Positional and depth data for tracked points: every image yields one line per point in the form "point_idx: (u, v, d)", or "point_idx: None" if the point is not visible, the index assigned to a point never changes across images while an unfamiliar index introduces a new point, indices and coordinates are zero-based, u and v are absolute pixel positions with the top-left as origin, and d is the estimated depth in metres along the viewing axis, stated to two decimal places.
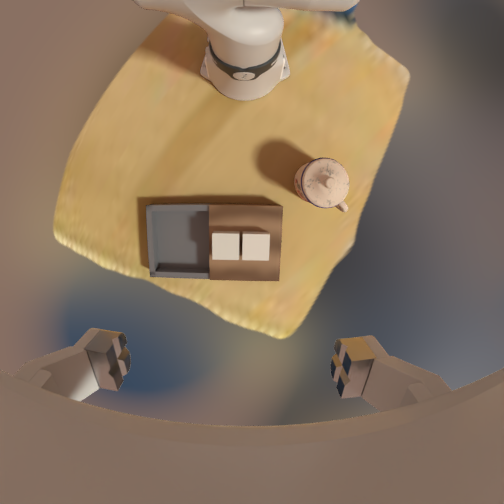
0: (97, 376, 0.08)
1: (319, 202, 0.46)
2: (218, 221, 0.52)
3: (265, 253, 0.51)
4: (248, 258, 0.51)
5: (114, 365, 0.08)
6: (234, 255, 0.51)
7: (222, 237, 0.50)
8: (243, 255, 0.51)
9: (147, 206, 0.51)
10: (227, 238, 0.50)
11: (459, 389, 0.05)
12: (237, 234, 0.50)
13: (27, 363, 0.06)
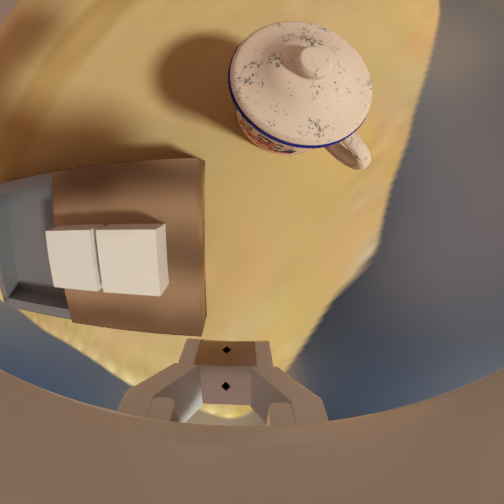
0: (204, 391, 0.08)
1: (286, 128, 0.14)
2: (67, 204, 0.19)
3: (151, 278, 0.19)
4: (115, 289, 0.19)
5: None
6: (87, 280, 0.19)
7: (61, 239, 0.18)
8: (104, 281, 0.19)
9: None
10: (69, 241, 0.18)
11: (459, 389, 0.05)
12: (86, 231, 0.18)
13: (130, 392, 0.06)
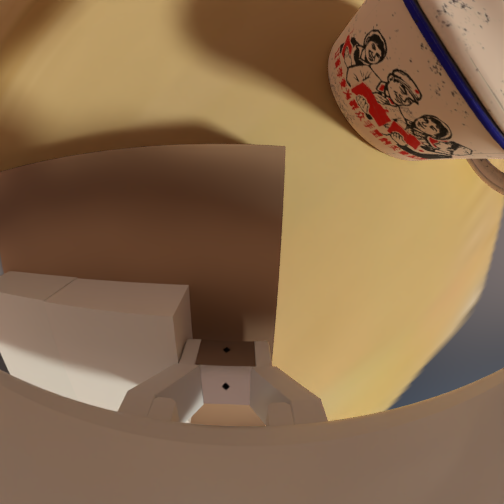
0: (205, 391, 0.08)
1: None
2: (16, 234, 0.09)
3: None
4: (99, 405, 0.08)
5: None
6: (59, 384, 0.08)
7: (2, 308, 0.07)
8: (78, 390, 0.08)
9: None
10: (15, 315, 0.07)
11: (459, 389, 0.05)
12: (39, 302, 0.07)
13: (130, 392, 0.06)
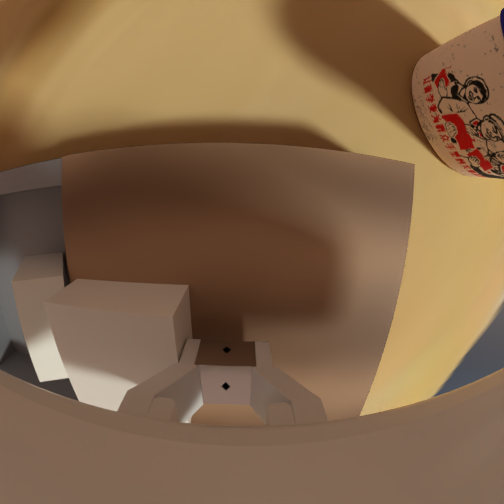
0: (204, 391, 0.08)
1: None
2: (99, 232, 0.09)
3: None
4: (100, 405, 0.08)
5: None
6: None
7: None
8: (78, 390, 0.08)
9: None
10: None
11: (459, 389, 0.05)
12: None
13: (130, 391, 0.06)
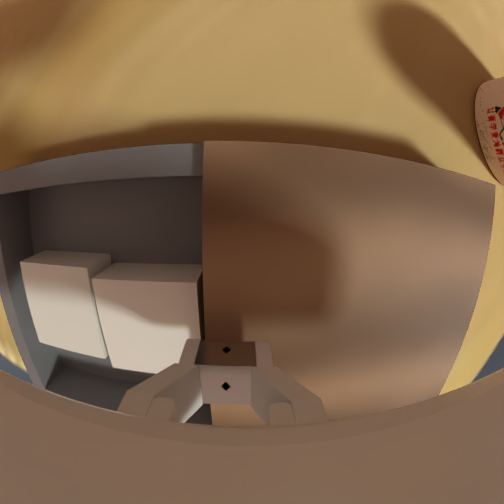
0: (204, 391, 0.08)
1: None
2: (256, 233, 0.09)
3: None
4: (130, 365, 0.12)
5: None
6: None
7: None
8: (112, 354, 0.12)
9: None
10: None
11: (459, 389, 0.05)
12: None
13: (129, 391, 0.06)
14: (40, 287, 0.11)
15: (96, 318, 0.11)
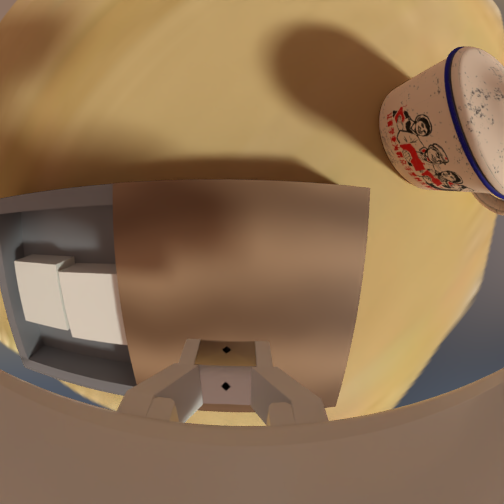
0: (204, 391, 0.08)
1: None
2: (144, 240, 0.14)
3: (117, 326, 0.16)
4: (83, 335, 0.16)
5: None
6: None
7: None
8: (72, 326, 0.16)
9: None
10: None
11: (459, 389, 0.05)
12: None
13: (130, 391, 0.06)
14: (27, 278, 0.15)
15: (62, 300, 0.15)
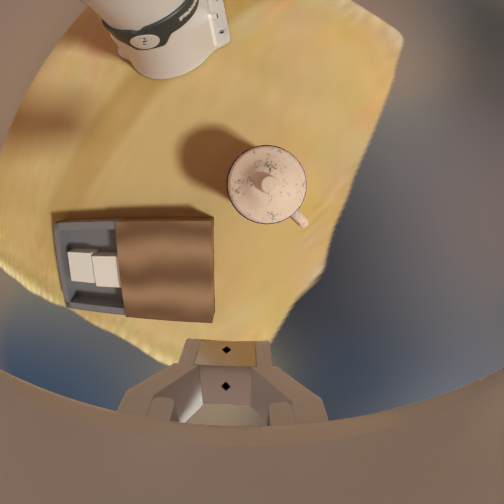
0: (204, 391, 0.08)
1: (256, 216, 0.30)
2: (127, 243, 0.36)
3: (117, 278, 0.38)
4: (101, 284, 0.38)
5: None
6: None
7: None
8: (96, 280, 0.38)
9: (54, 224, 0.35)
10: None
11: (459, 389, 0.05)
12: None
13: (129, 391, 0.06)
14: (74, 260, 0.37)
15: (92, 268, 0.38)
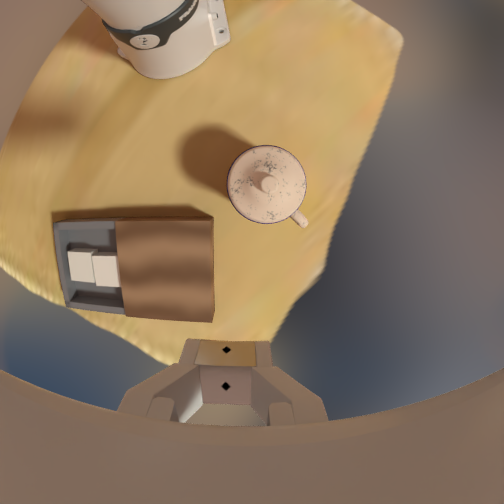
0: (204, 391, 0.08)
1: (256, 216, 0.30)
2: (127, 243, 0.36)
3: (117, 278, 0.38)
4: (101, 284, 0.38)
5: None
6: None
7: None
8: (96, 280, 0.38)
9: (54, 224, 0.35)
10: None
11: (459, 389, 0.05)
12: None
13: (130, 391, 0.06)
14: (74, 259, 0.37)
15: (92, 268, 0.38)
